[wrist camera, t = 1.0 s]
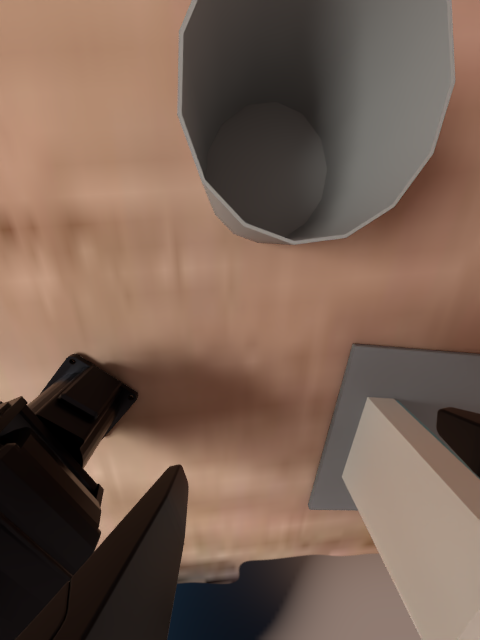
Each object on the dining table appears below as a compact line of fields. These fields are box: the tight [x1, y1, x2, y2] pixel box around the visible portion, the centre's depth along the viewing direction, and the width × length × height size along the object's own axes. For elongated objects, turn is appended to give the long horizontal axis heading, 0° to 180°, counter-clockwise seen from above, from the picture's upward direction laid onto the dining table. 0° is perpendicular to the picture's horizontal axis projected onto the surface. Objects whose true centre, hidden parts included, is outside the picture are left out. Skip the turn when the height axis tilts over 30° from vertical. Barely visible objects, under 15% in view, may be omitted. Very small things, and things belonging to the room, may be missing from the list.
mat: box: [308, 344, 480, 510], centre depth 25 cm, size 20×20×1 cm
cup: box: [177, 0, 455, 245], centre depth 12 cm, size 8×8×10 cm
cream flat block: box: [342, 397, 480, 640], centre depth 18 cm, size 3×10×12 cm, turn 174°
